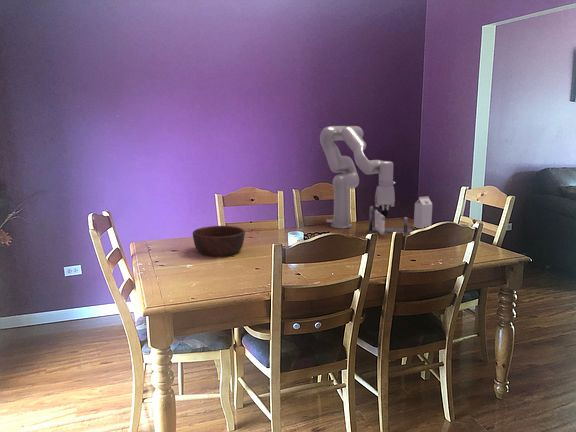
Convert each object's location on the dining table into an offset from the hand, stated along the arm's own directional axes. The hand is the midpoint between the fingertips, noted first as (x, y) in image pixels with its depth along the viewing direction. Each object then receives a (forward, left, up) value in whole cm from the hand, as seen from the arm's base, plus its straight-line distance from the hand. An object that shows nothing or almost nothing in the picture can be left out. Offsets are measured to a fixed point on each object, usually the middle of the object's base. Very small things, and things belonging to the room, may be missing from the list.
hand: (384, 217), depth 277 cm
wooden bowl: (-78, -51, -10) cm, 94 cm away
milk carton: (+22, +21, -10) cm, 32 cm away
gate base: (+3, +9, -10) cm, 14 cm away
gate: (-3, +1, -8) cm, 9 cm away
